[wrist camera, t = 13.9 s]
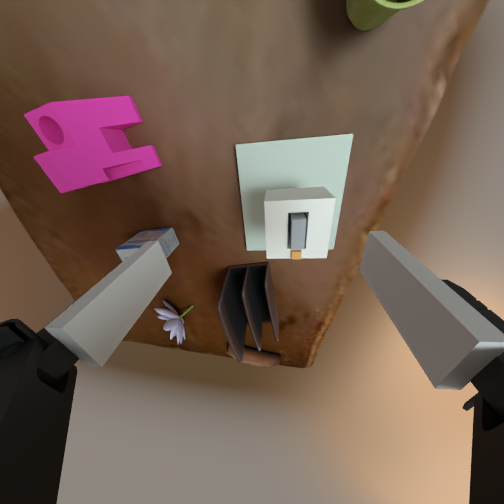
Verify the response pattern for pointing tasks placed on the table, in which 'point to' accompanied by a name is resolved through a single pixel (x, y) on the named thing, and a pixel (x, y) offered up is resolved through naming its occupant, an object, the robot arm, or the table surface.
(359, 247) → the table surface
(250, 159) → the shaft stand
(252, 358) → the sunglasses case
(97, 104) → the bracket
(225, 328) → the letter holder
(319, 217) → the slotted block
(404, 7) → the plant pot
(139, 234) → the medicine box
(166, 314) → the water lily
